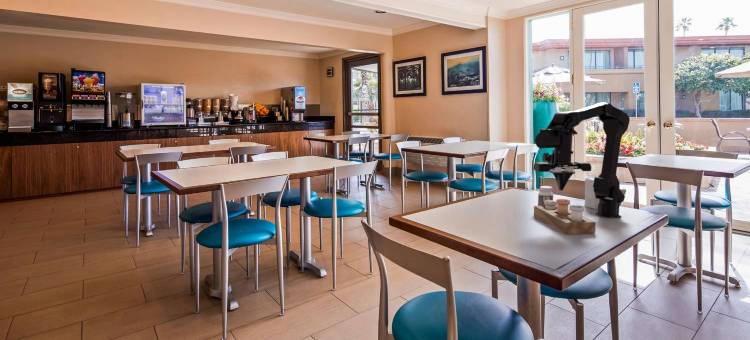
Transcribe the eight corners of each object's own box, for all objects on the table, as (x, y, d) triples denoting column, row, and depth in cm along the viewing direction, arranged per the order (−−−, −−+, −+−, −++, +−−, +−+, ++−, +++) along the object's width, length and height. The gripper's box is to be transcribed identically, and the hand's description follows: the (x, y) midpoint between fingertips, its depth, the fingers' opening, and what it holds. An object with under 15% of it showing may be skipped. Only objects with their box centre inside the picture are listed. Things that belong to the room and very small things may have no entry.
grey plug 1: (552, 215, 163) (553, 200, 162) (558, 218, 158) (559, 202, 157) (541, 215, 162) (542, 200, 162) (546, 218, 158) (547, 203, 157)
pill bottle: (554, 212, 168) (555, 188, 166) (539, 212, 169) (540, 188, 167) (550, 209, 173) (551, 185, 172) (536, 208, 174) (537, 185, 173)
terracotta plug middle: (565, 214, 153) (566, 198, 152) (571, 217, 148) (572, 201, 148) (553, 215, 153) (553, 199, 152) (559, 218, 148) (560, 201, 147)
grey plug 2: (579, 221, 144) (580, 204, 143) (586, 225, 139) (587, 207, 138) (566, 221, 143) (567, 204, 142) (573, 225, 139) (573, 208, 138)
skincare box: (603, 208, 172) (604, 179, 171) (593, 209, 171) (595, 180, 170) (592, 205, 178) (594, 177, 177) (583, 206, 177) (584, 178, 176)
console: (558, 214, 164) (559, 205, 163) (595, 233, 139) (595, 221, 138) (533, 215, 163) (534, 205, 162) (565, 234, 138) (566, 222, 138)
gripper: (577, 145, 156) (575, 186, 159) (528, 145, 156) (526, 186, 158) (593, 147, 145) (590, 191, 148) (540, 148, 145) (538, 192, 147)
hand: (560, 190), depth 151 cm, fingers closed
